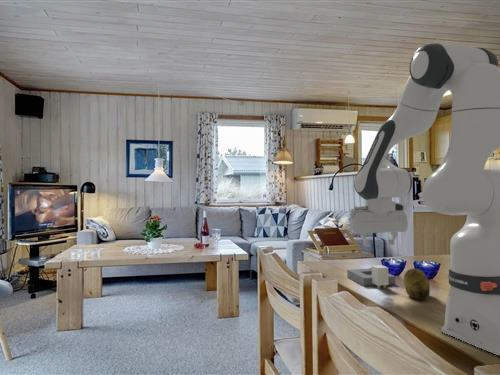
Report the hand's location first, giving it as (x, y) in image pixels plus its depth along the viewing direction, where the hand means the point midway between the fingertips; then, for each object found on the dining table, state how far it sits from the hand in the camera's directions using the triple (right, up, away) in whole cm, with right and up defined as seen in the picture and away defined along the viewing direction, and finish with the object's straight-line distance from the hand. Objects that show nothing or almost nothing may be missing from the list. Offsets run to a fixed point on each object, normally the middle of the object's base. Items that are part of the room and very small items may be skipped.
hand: (378, 245), depth 131 cm
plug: (0, -15, 0) cm, 15 cm away
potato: (+8, -15, -11) cm, 20 cm away
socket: (0, -15, +9) cm, 17 cm away
